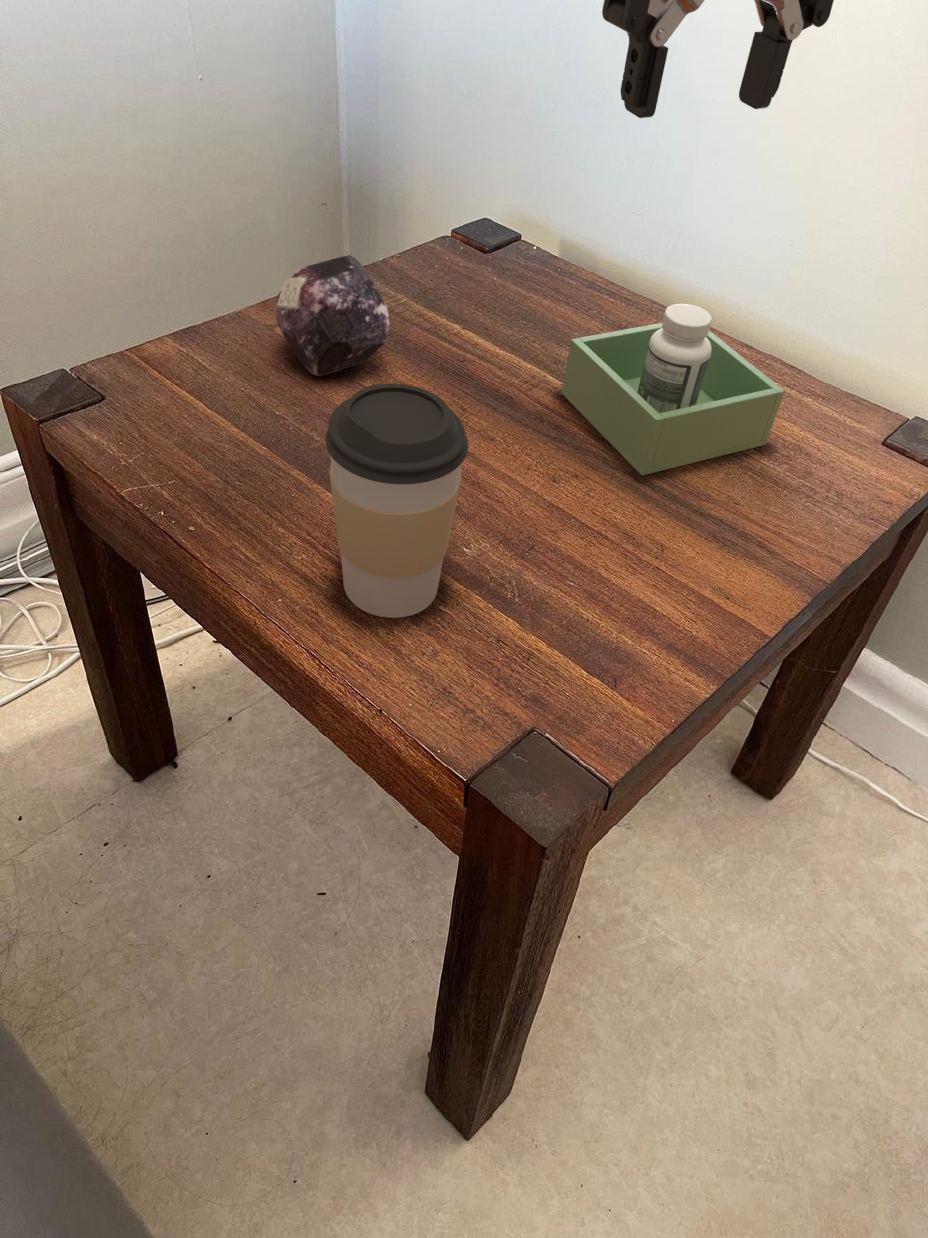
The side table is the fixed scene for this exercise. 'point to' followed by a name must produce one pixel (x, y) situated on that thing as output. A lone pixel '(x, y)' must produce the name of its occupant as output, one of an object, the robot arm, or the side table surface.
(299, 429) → the side table surface
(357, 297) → the mineral specimen
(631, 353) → the bin
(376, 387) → the coffee cup
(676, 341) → the pill bottle
